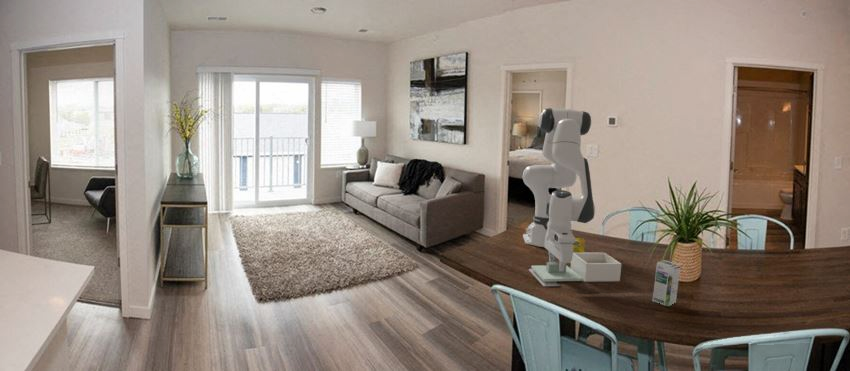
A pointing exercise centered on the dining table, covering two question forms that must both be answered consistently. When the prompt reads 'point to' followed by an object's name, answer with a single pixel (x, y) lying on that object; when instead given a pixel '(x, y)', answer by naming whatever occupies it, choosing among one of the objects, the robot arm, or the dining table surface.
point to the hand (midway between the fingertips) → (556, 266)
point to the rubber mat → (543, 281)
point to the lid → (555, 273)
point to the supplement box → (578, 246)
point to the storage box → (596, 267)
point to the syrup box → (666, 282)
